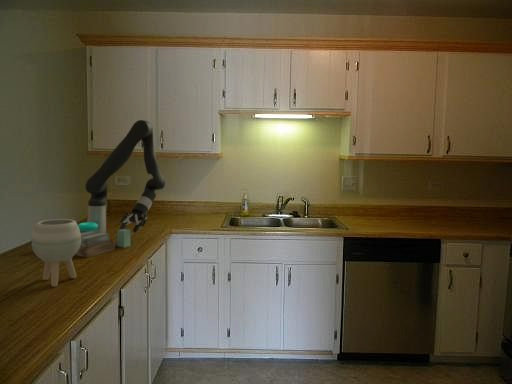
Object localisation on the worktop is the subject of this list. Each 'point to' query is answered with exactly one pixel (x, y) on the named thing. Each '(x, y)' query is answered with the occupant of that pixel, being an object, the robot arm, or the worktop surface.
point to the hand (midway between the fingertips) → (127, 231)
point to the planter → (56, 246)
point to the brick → (123, 237)
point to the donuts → (87, 226)
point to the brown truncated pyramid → (94, 244)
